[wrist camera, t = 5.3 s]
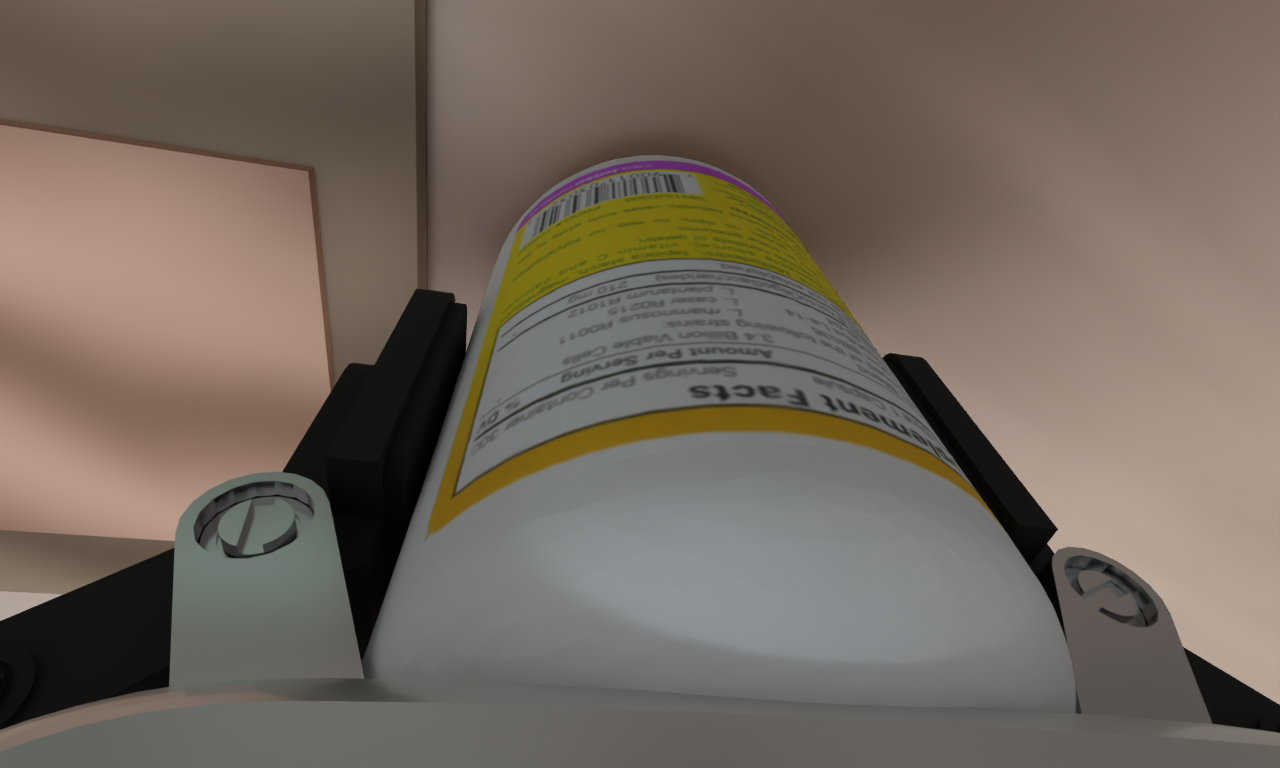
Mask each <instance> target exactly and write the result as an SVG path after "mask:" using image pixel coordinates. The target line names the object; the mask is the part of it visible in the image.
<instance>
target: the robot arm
mask: <svg viewBox="0 0 1280 768" xmlns="http://www.w3.org/2000/svg"><path fill="white" fill-rule="evenodd" d="M466 329H467V306H466V304H460V303H455V297H454V294H453V293H446V292H439V291H432V290H424V289H416V290H415V291H414V293H413V295H412V297H411V299H410V301H409V302H408V304H407V306H406V308H405V310H404V312H403V313H402V315H401V317H400V319H399V321H398V323H397V324H396V326H395V328H394V330H393V332H392V334H391V335H390V337H389V339H388V341H387V343H386V345H385V346H384V348H383V350H382V352H381V354H380V356H379V357H378V359H377V361H376V363H375V365H369V364H361V363H351V364H349V365H348V366H347V367H346V368H345V369H344V371H343V373H342V374H341V376H340V378H339V379H338V381H337V383H336V384H335V386H334V387H333V389H332V391H331V392H330V394H329V396H328V397H327V399H326V401H325V402H324V404H323V406H322V407H321V409H320V410H319V412H318V414H317V415H316V417H315V419H314V420H313V422H312V424H311V425H310V427H309V428H308V430H307V432H306V433H305V435H304V437H303V438H302V440H301V442H300V443H299V445H298V446H297V448H296V450H295V451H294V453H293V455H292V456H291V458H290V460H289V461H288V463H287V465H286V466H285V468H284V469H283V471H282V472H264V473H252V474H249V475H245V476H241V477H238V478H234V479H230V480H228V481H226V482H224V483H222V484H220V485H217V486H215V487H213V488H211V489H209V490H208V491H206V492H205V493H204V494H202V495H201V496H200V497H198V498H197V499H196V500H194V501H193V502H192V503H191V504H190V505H189V507H188V508H187V509H186V511H185V512H184V513H183V514H182V516H181V517H180V519H179V523H178V526H177V529H176V533H175V548H172V549H170V550H167V551H165V552H163V553H160V554H158V555H156V556H153V557H151V558H149V559H146V560H144V561H141V562H139V563H137V564H134V565H132V566H130V567H127V568H125V569H123V570H120V571H118V572H115V573H113V574H111V575H108V576H106V577H104V578H101V579H99V580H97V581H94V582H92V583H90V584H87V585H85V586H82V587H80V588H78V589H75V590H73V591H71V592H68V593H66V594H64V595H61V596H59V597H56V598H54V599H52V600H49V601H47V602H45V603H42V604H40V605H38V606H35V607H33V608H30V609H28V610H26V611H23V612H21V613H19V614H16V615H14V616H12V617H9V618H7V619H4V620H2V621H0V768H1280V705H1279V704H1277V703H1275V702H1274V701H1272V700H1270V699H1269V698H1267V697H1265V696H1264V695H1262V694H1260V693H1259V692H1257V691H1255V690H1254V689H1252V688H1250V687H1249V686H1247V685H1245V684H1244V683H1242V682H1240V681H1239V680H1237V679H1235V678H1234V677H1232V676H1230V675H1229V674H1227V673H1225V672H1224V671H1222V670H1220V669H1219V668H1217V667H1215V666H1214V665H1212V664H1210V663H1209V662H1207V661H1205V660H1204V659H1202V658H1201V657H1199V656H1197V655H1196V654H1194V653H1192V652H1191V651H1189V650H1187V649H1186V648H1184V647H1183V646H1182V643H1181V641H1180V638H1179V635H1178V633H1177V630H1176V628H1175V625H1174V622H1173V620H1172V617H1171V615H1170V612H1169V611H1168V609H1167V607H1166V605H1165V604H1164V602H1163V600H1162V599H1161V598H1160V597H1159V595H1158V594H1157V593H1156V592H1155V591H1154V590H1153V589H1152V587H1151V586H1150V585H1149V584H1147V583H1146V582H1145V581H1144V580H1143V579H1141V578H1140V577H1139V576H1138V575H1137V574H1136V573H1134V572H1133V571H1131V570H1130V569H1128V568H1127V567H1125V566H1123V565H1122V564H1120V563H1119V562H1117V561H1115V560H1113V559H1111V558H1109V557H1107V556H1105V555H1103V554H1101V553H1098V552H1095V551H1091V550H1088V549H1084V548H1077V547H1067V548H1063V549H1059V550H1058V551H1057V552H1056V553H1055V554H1054V553H1053V551H1052V550H1051V549H1050V547H1049V546H1048V545H1047V543H1048V541H1049V540H1050V539H1051V537H1052V536H1053V535H1054V534H1055V532H1056V531H1057V530H1058V529H1057V528H1056V526H1055V525H1054V524H1053V523H1052V521H1051V520H1050V519H1049V517H1048V516H1047V515H1046V514H1045V512H1044V511H1043V510H1042V508H1041V507H1040V506H1039V505H1038V503H1037V502H1036V501H1035V499H1034V498H1033V497H1032V496H1031V494H1030V493H1029V492H1028V491H1027V489H1026V488H1025V487H1024V485H1023V484H1022V483H1021V482H1020V480H1019V479H1018V478H1017V476H1016V475H1015V474H1014V473H1013V471H1012V470H1011V469H1010V468H1009V466H1008V465H1007V464H1006V462H1005V461H1004V460H1003V459H1002V457H1001V456H1000V455H999V453H998V452H997V451H996V450H995V448H994V447H993V446H992V444H991V443H990V442H989V441H988V439H987V438H986V437H985V436H984V434H983V433H982V432H981V430H980V429H979V428H978V427H977V425H976V424H975V423H974V421H973V420H972V419H971V418H970V416H969V415H968V414H967V412H966V411H965V410H964V409H963V407H962V406H961V405H960V404H959V402H958V401H957V400H956V398H955V397H954V396H953V395H952V393H951V392H950V391H949V389H948V388H947V387H946V386H945V384H944V383H943V382H942V380H941V379H940V378H939V377H938V375H937V374H936V373H935V372H934V370H933V369H932V368H931V366H930V365H929V364H928V363H927V361H926V360H925V359H923V358H921V357H914V356H907V355H900V354H893V353H889V354H887V355H885V356H884V357H883V360H884V361H885V363H886V364H887V366H888V367H889V369H890V370H891V371H892V372H893V374H894V375H895V377H896V378H897V380H898V381H899V383H900V384H901V385H902V387H903V388H904V390H905V391H906V393H907V394H908V396H909V397H910V398H911V400H912V401H913V403H914V404H915V405H916V407H917V408H918V410H919V411H920V413H921V414H922V415H923V417H924V418H925V420H926V421H927V422H928V424H929V425H930V427H931V428H932V429H933V431H934V432H935V434H936V435H937V437H938V438H939V439H940V441H941V442H942V444H943V445H944V447H945V448H946V449H947V451H948V452H949V453H950V454H951V456H952V457H953V459H954V460H955V462H956V463H957V465H958V466H959V467H960V469H961V470H962V472H963V473H964V474H965V476H966V477H967V479H968V480H969V481H970V483H971V484H972V486H973V487H974V488H975V490H976V491H977V492H978V494H979V495H980V497H981V498H982V499H983V501H984V502H985V503H986V505H987V506H988V508H989V509H990V510H991V512H992V513H993V515H994V516H995V517H996V519H997V520H998V521H999V523H1000V524H1001V526H1002V527H1003V528H1004V530H1005V531H1006V533H1007V534H1008V536H1009V537H1010V539H1011V540H1012V542H1013V543H1014V545H1015V546H1016V548H1017V549H1018V551H1019V552H1020V554H1021V555H1022V557H1023V558H1024V560H1025V561H1026V563H1027V564H1028V566H1029V567H1030V569H1031V570H1032V572H1033V573H1034V575H1035V576H1036V577H1037V579H1038V580H1039V582H1040V583H1041V585H1042V587H1043V589H1044V590H1045V592H1046V594H1047V596H1048V598H1049V600H1050V601H1051V603H1052V605H1053V607H1054V610H1055V612H1056V615H1057V617H1058V620H1059V623H1060V625H1061V628H1062V631H1063V634H1064V636H1065V639H1066V642H1067V646H1068V649H1069V653H1070V657H1071V662H1072V667H1073V673H1074V678H1075V684H1076V712H1075V714H1072V713H1055V712H1039V711H1022V710H1005V709H988V708H971V707H898V706H870V705H843V704H825V703H807V702H790V701H775V700H760V699H746V698H731V697H718V696H706V695H693V694H680V693H668V692H657V691H646V690H630V689H609V688H588V687H567V686H546V685H525V684H505V683H484V682H452V681H420V680H388V679H364V674H363V669H362V661H363V658H364V655H365V652H366V649H367V646H368V643H369V641H370V638H371V635H372V632H373V629H374V626H375V623H376V621H377V618H378V615H379V612H380V609H381V606H382V604H383V601H384V598H385V595H386V592H387V589H388V586H389V583H390V580H391V577H392V574H393V571H394V569H395V566H396V563H397V560H398V557H399V554H400V551H401V548H402V545H403V542H404V539H405V536H406V533H407V530H408V527H409V524H410V521H411V518H412V515H413V512H414V509H415V506H416V503H417V500H418V497H419V494H420V491H421V488H422V485H423V482H424V479H425V476H426V473H427V470H428V467H429V464H430V461H431V458H432V456H433V453H434V450H435V447H436V444H437V441H438V438H439V435H440V432H441V429H442V425H443V422H444V419H445V416H446V413H447V410H448V407H449V404H450V400H451V397H452V394H453V391H454V388H455V385H456V382H457V379H458V376H459V373H460V369H461V366H462V363H463V360H464V357H465V354H466Z"/></svg>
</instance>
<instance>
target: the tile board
mask: <svg viewBox="0 0 1280 768" xmlns="http://www.w3.org/2000/svg"><path fill="white" fill-rule="evenodd" d="M416 289H424V290H427V175H426V0H0V591H11V592H30V593H50V594H66V593H68V592H71V591H73V590H75V589H78V588H80V587H82V586H85V585H87V584H90V583H92V582H94V581H97V580H99V579H101V578H104V577H106V576H108V575H111V574H113V573H115V572H118V571H120V570H123V569H125V568H127V567H130V566H132V565H134V564H137V563H139V562H141V561H144V560H146V559H149V558H151V557H153V556H156V555H158V554H160V553H163V552H165V551H167V550H170V549H172V548H175V533H176V529H177V526H178V523H179V519H180V517H181V516H182V514H183V513H184V512H185V511H186V509H187V508H188V507H189V505H190V504H191V503H192V502H193V501H194V500H196V499H197V498H198V497H200V496H201V495H202V494H204V493H205V492H206V491H208V490H209V489H211V488H213V487H215V486H217V485H220V484H222V483H224V482H226V481H228V480H230V479H234V478H238V477H241V476H245V475H249V474H252V473H264V472H282V471H283V469H284V468H285V466H286V465H287V463H288V461H289V460H290V458H291V456H292V455H293V453H294V451H295V450H296V448H297V446H298V445H299V443H300V442H301V440H302V438H303V437H304V435H305V433H306V432H307V430H308V428H309V427H310V425H311V424H312V422H313V420H314V419H315V417H316V415H317V414H318V412H319V410H320V409H321V407H322V406H323V404H324V402H325V401H326V399H327V397H328V396H329V394H330V392H331V391H332V389H333V387H334V386H335V384H336V383H337V381H338V379H339V378H340V376H341V374H342V373H343V371H344V369H345V368H346V367H347V366H348V365H349V364H351V363H361V364H369V365H375V363H376V361H377V359H378V357H379V356H380V354H381V352H382V350H383V348H384V346H385V345H386V343H387V341H388V339H389V337H390V335H391V334H392V332H393V330H394V328H395V326H396V324H397V323H398V321H399V319H400V317H401V315H402V313H403V312H404V310H405V308H406V306H407V304H408V302H409V301H410V299H411V297H412V295H413V293H414V291H415V290H416Z"/></svg>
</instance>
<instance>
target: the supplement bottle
mask: <svg viewBox="0 0 1280 768" xmlns="http://www.w3.org/2000/svg"><path fill="white" fill-rule="evenodd" d="M362 669H363V674H364V679H388V680H420V681H452V682H484V683H505V684H525V685H546V686H567V687H588V688H609V689H630V690H646V691H657V692H668V693H680V694H693V695H706V696H718V697H731V698H746V699H760V700H775V701H790V702H807V703H825V704H843V705H870V706H898V707H971V708H988V709H1005V710H1022V711H1039V712H1055V713H1072V714H1075V712H1076V684H1075V678H1074V673H1073V667H1072V662H1071V657H1070V653H1069V649H1068V646H1067V642H1066V639H1065V636H1064V634H1063V631H1062V628H1061V625H1060V623H1059V620H1058V617H1057V615H1056V612H1055V610H1054V607H1053V605H1052V603H1051V601H1050V600H1049V598H1048V596H1047V594H1046V592H1045V590H1044V589H1043V587H1042V585H1041V583H1040V582H1039V580H1038V579H1037V577H1036V576H1035V575H1034V573H1033V572H1032V570H1031V569H1030V567H1029V566H1028V564H1027V563H1026V561H1025V560H1024V558H1023V557H1022V555H1021V554H1020V552H1019V551H1018V549H1017V548H1016V546H1015V545H1014V543H1013V542H1012V540H1011V539H1010V537H1009V536H1008V534H1007V533H1006V531H1005V530H1004V528H1003V527H1002V526H1001V524H1000V523H999V521H998V520H997V519H996V517H995V516H994V515H993V513H992V512H991V510H990V509H989V508H988V506H987V505H986V503H985V502H984V501H983V499H982V498H981V497H980V495H979V494H978V492H977V491H976V490H975V488H974V487H973V486H972V484H971V483H970V481H969V480H968V479H967V477H966V476H965V474H964V473H963V472H962V470H961V469H960V467H959V466H958V465H957V463H956V462H955V460H954V459H953V457H952V456H951V454H950V453H949V452H948V451H947V449H946V448H945V447H944V445H943V444H942V442H941V441H940V439H939V438H938V437H937V435H936V434H935V432H934V431H933V429H932V428H931V427H930V425H929V424H928V422H927V421H926V420H925V418H924V417H923V415H922V414H921V413H920V411H919V410H918V408H917V407H916V405H915V404H914V403H913V401H912V400H911V398H910V397H909V396H908V394H907V393H906V391H905V390H904V388H903V387H902V385H901V384H900V383H899V381H898V380H897V378H896V377H895V375H894V374H893V372H892V371H891V370H890V369H889V367H888V366H887V364H886V363H885V361H884V360H883V358H882V357H881V355H880V354H879V353H878V351H877V350H876V348H875V347H874V346H873V344H872V343H871V341H870V340H869V338H868V337H867V335H866V334H865V333H864V331H863V330H862V328H861V327H860V325H859V324H858V323H857V321H856V320H855V318H854V317H853V316H852V314H851V312H850V311H849V309H848V308H847V307H846V305H845V304H844V302H843V301H842V299H841V298H840V297H839V295H838V294H837V293H836V291H835V290H834V288H833V287H832V285H831V284H830V283H829V281H828V280H827V278H826V277H825V276H824V274H823V273H822V271H821V270H820V268H819V267H818V266H817V264H816V263H815V261H814V260H813V258H812V257H811V255H810V254H809V252H808V251H807V250H806V248H805V247H804V245H803V244H802V243H801V241H800V240H799V238H798V237H797V236H796V234H795V233H794V231H793V230H792V229H791V227H790V226H789V224H788V223H787V222H786V221H785V219H784V218H783V217H782V216H781V215H780V213H779V212H778V211H777V210H776V209H775V208H774V207H773V206H772V205H771V204H770V202H769V201H768V200H767V199H765V198H764V197H763V196H762V195H761V194H760V193H759V192H757V191H756V190H755V189H753V188H752V187H751V186H750V185H748V184H747V183H746V182H744V181H742V180H741V179H739V178H737V177H735V176H733V175H731V174H729V173H727V172H725V171H723V170H721V169H719V168H716V167H714V166H711V165H709V164H706V163H703V162H699V161H696V160H692V159H687V158H682V157H673V156H663V155H640V156H632V157H626V158H619V159H614V160H610V161H607V162H603V163H600V164H597V165H595V166H592V167H589V168H587V169H585V170H583V171H581V172H578V173H576V174H574V175H572V176H570V177H568V178H566V179H565V180H563V181H562V182H560V183H558V184H557V185H555V186H554V187H553V188H551V189H550V190H548V191H547V192H546V193H544V194H543V195H542V196H541V197H540V198H539V199H538V200H537V201H536V202H535V203H534V204H533V205H532V206H531V207H530V208H529V209H528V210H527V211H526V212H525V213H524V214H523V215H522V217H521V218H520V219H519V221H518V222H517V223H516V224H515V226H514V227H513V229H512V230H511V232H510V233H509V235H508V237H507V239H506V241H505V243H504V244H503V246H502V248H501V251H500V253H499V256H498V258H497V261H496V263H495V266H494V269H493V272H492V275H491V278H490V281H489V284H488V286H487V289H486V292H485V295H484V299H483V302H482V305H481V308H480V311H479V314H478V317H477V321H476V324H475V327H474V330H473V333H472V336H471V339H470V342H469V345H468V348H467V351H466V354H465V357H464V360H463V363H462V366H461V369H460V373H459V376H458V379H457V382H456V385H455V388H454V391H453V394H452V397H451V400H450V404H449V407H448V410H447V413H446V416H445V419H444V422H443V425H442V429H441V432H440V435H439V438H438V441H437V444H436V447H435V450H434V453H433V456H432V458H431V461H430V464H429V467H428V470H427V473H426V476H425V479H424V482H423V485H422V488H421V491H420V494H419V497H418V500H417V503H416V506H415V509H414V512H413V515H412V518H411V521H410V524H409V527H408V530H407V533H406V536H405V539H404V542H403V545H402V548H401V551H400V554H399V557H398V560H397V563H396V566H395V569H394V571H393V574H392V577H391V580H390V583H389V586H388V589H387V592H386V595H385V598H384V601H383V604H382V606H381V609H380V612H379V615H378V618H377V621H376V623H375V626H374V629H373V632H372V635H371V638H370V641H369V643H368V646H367V649H366V652H365V655H364V658H363V661H362Z"/></svg>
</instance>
